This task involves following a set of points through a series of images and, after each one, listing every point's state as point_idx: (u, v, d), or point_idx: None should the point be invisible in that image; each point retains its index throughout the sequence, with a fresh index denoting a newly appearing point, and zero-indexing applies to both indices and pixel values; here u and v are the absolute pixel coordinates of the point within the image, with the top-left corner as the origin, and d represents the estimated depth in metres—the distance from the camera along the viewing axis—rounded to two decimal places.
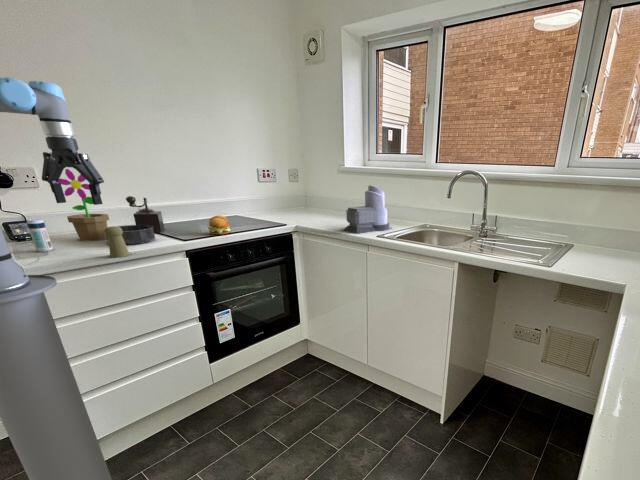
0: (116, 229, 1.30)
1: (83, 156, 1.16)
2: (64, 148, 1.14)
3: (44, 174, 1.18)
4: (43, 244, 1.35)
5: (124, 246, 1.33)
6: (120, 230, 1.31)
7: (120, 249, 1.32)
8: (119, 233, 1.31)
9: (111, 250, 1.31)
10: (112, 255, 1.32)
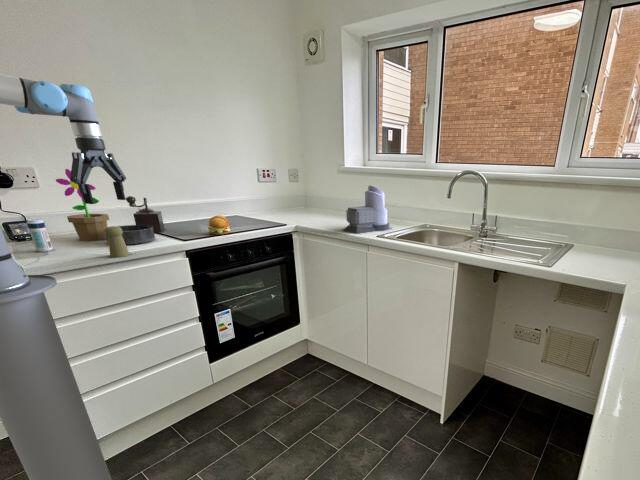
0: (116, 229, 1.30)
1: None
2: None
3: (79, 175, 1.16)
4: (43, 244, 1.35)
5: (124, 246, 1.33)
6: (120, 230, 1.31)
7: (120, 249, 1.32)
8: (119, 233, 1.31)
9: (111, 250, 1.31)
10: (112, 255, 1.32)
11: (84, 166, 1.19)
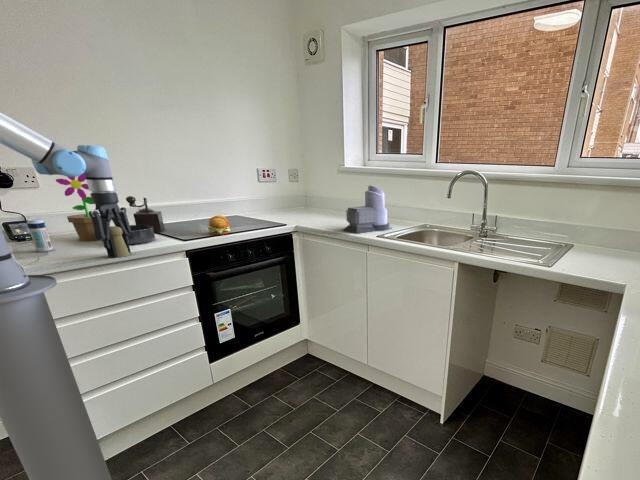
0: (116, 229, 1.30)
1: None
2: None
3: (102, 232, 1.25)
4: (43, 244, 1.35)
5: (124, 246, 1.33)
6: (120, 230, 1.31)
7: (120, 249, 1.32)
8: (119, 233, 1.31)
9: None
10: None
11: (102, 221, 1.27)
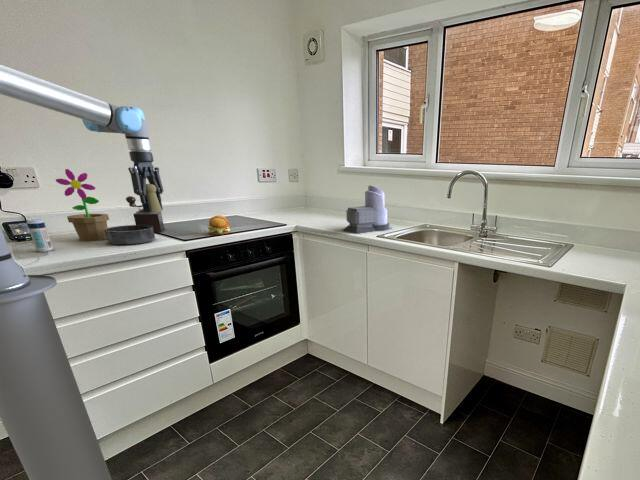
0: (151, 186, 1.43)
1: None
2: None
3: (140, 187, 1.38)
4: (43, 244, 1.35)
5: (158, 202, 1.46)
6: (154, 187, 1.44)
7: (154, 205, 1.45)
8: (154, 190, 1.44)
9: None
10: None
11: None
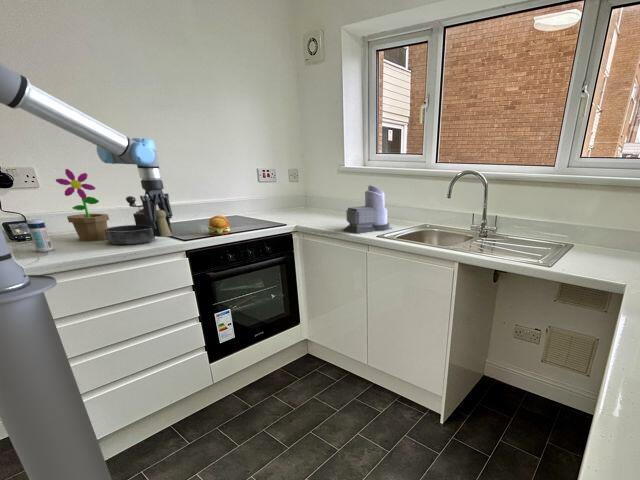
0: (161, 212, 1.49)
1: None
2: None
3: (151, 214, 1.44)
4: (43, 244, 1.35)
5: (167, 227, 1.52)
6: (164, 213, 1.50)
7: (164, 230, 1.51)
8: (164, 215, 1.50)
9: None
10: None
11: (150, 205, 1.46)
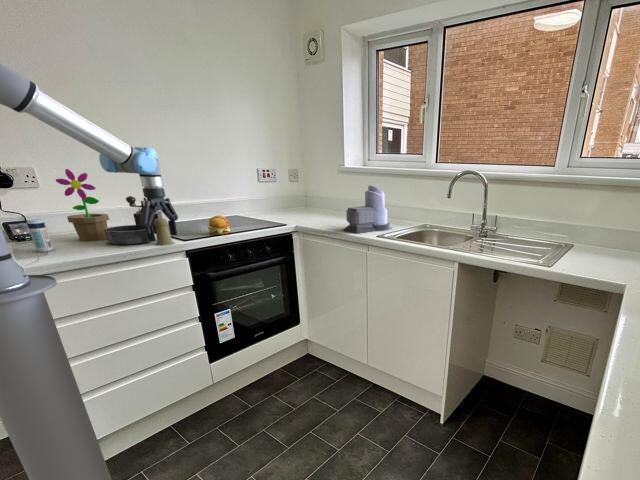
0: (163, 220, 1.50)
1: None
2: None
3: (146, 219, 1.42)
4: (43, 244, 1.35)
5: (169, 235, 1.54)
6: (166, 221, 1.51)
7: (166, 238, 1.52)
8: (165, 224, 1.51)
9: (158, 239, 1.51)
10: (159, 243, 1.52)
11: (149, 211, 1.45)
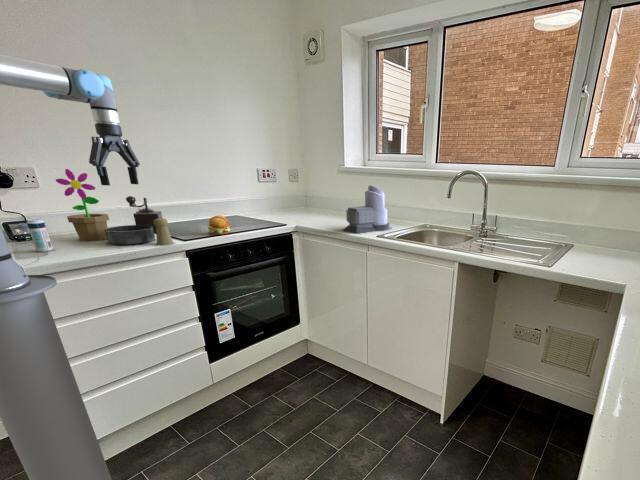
0: (163, 220, 1.50)
1: None
2: None
3: (98, 157, 1.24)
4: (43, 244, 1.35)
5: (169, 235, 1.54)
6: (166, 221, 1.51)
7: (166, 238, 1.52)
8: (165, 224, 1.51)
9: (158, 239, 1.51)
10: (159, 243, 1.52)
11: (102, 150, 1.27)
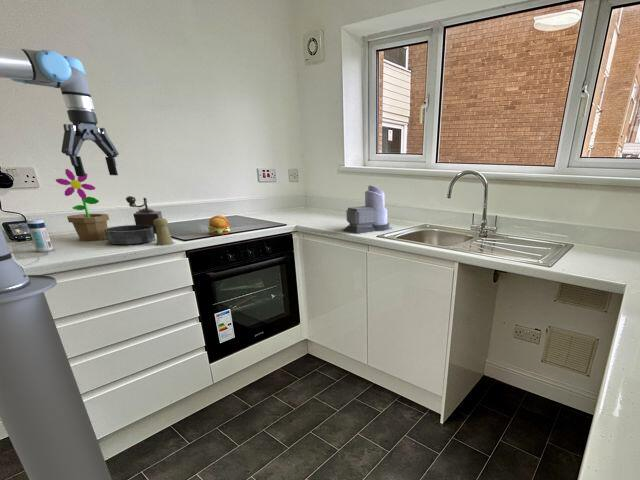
0: (163, 220, 1.50)
1: None
2: (97, 122, 1.24)
3: (71, 147, 1.16)
4: (43, 244, 1.35)
5: (169, 235, 1.54)
6: (166, 221, 1.51)
7: (166, 238, 1.52)
8: (165, 224, 1.51)
9: (158, 239, 1.51)
10: (159, 243, 1.52)
11: (76, 138, 1.19)
